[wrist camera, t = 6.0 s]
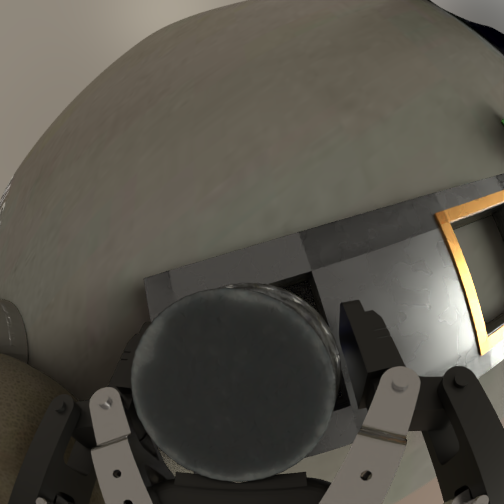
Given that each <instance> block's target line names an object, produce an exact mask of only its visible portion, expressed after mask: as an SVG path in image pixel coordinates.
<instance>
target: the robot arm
mask: <svg viewBox="0 0 504 504" xmlns="http://www.w3.org/2000/svg"><path fill="white" fill-rule="evenodd" d="M150 324H151V322H145V323H144V324H143V326H142V329H141V331H140V333H139V334H135V335H134V337H133V338H132V339H131V340H130V341H129V342H128V343H127V345H126V348H125V350H124V353H123V354H122V356H121V358H120V359H121V360H120V361H119V363H118V365H117V367H116V369H115V372H114V374H113V376H112V378H111V381H110V383H109V385H108V387H105V388H101V389H99V390H98V391H96V392H95V393H94V394H93V396H92V397H91V399H90V400H86V401H79V402H75V401H74V400H73V398H72V397H71V396H69V395H67V394H61V395H58V396H57V397H55V398H54V399H53V400H52V401H51V403H50V405H49V407H48V409H47V411H46V413H45V415H44V417H43V419H42V421H41V423H40V425H39V427H38V429H37V431H36V433H35V435H34V438H33V440H32V442H31V444H30V446H29V449H28V451H27V453H26V456H25V458H24V461H23V463H22V466H21V468H20V471H19V473H18V476H17V478H16V481H15V484H14V487H13V490H12V493H11V495H10V499H9V502H8V504H89V502H90V498H91V495H92V491H93V488H94V485H95V481H96V478H97V479H98V482H99V485H100V489H101V492H102V495H103V498H104V501H105V504H382V503H383V501H384V499H385V497H386V494H387V492H388V490H389V488H390V486H391V483H392V481H393V479H394V476H395V474H396V472H397V469H398V467H399V464H400V461H401V459H402V456H403V453H404V450H405V447H406V444H407V440H406V436H407V432H408V431H422V434H423V437H424V440H425V443H426V445H427V448H428V451H429V454H430V457H431V460H432V463H433V466H434V469H435V472H436V476H437V479H438V482H439V486H440V489H441V493H442V496H443V500H444V503H443V504H504V428H503V426H502V424H501V422H500V420H499V418H498V416H497V414H496V412H495V410H494V408H493V406H492V404H491V402H490V400H489V399H488V397H487V395H486V393H485V391H484V390H483V388H482V386H481V384H480V382H479V381H478V379H477V377H476V376H475V374H474V373H473V372H472V371H471V370H470V369H468V368H467V367H464V366H454V367H452V368H450V369H448V370H447V371H446V372H445V374H444V376H443V377H423V376H419V375H417V373H416V372H415V371H413V370H412V369H410V368H407V367H406V366H405V364H404V362H403V360H402V358H401V355H400V353H399V351H398V349H397V347H396V345H395V343H394V341H393V339H392V337H391V336H390V332H389V330H388V329H387V326H386V324H385V322H384V320H383V318H382V317H381V316H380V315H378V314H377V313H376V312H375V311H374V310H370V311H365V310H364V308H363V306H362V304H361V302H360V300H353V301H347V302H341V303H340V316H339V340H340V345H341V348H342V352H343V355H344V358H345V362H346V365H347V369H348V372H349V376H350V380H351V383H352V387H353V391H354V394H355V398H356V402H357V406H358V410H359V409H363V408H367V411H368V413H367V415H366V418H365V420H364V422H363V424H362V426H361V428H360V430H359V432H358V434H357V436H356V438H355V440H354V442H353V444H352V446H351V448H350V450H349V452H348V454H347V456H346V458H345V460H344V462H343V464H342V465H341V467H340V469H339V471H338V473H337V475H336V476H335V478H334V480H333V481H332V483H330V482H328V481H324V480H321V479H316V478H307V477H306V472H299V473H290V474H277V475H273V476H270V477H267V478H264V479H259V480H253V481H246V482H241V483H235V482H229V481H222V480H217V479H212V478H209V477H206V476H201V475H200V474H191V473H181V472H176V476H175V477H174V475H173V474H172V472H171V471H170V470H169V469H168V467H167V466H166V464H165V463H164V461H163V458H162V456H161V454H160V452H159V450H158V447H157V445H156V444H155V443H154V442H153V440H152V439H151V437H150V436H149V434H148V433H147V432H146V430H145V429H144V426H143V425H142V422H141V420H140V419H139V418H138V415H137V412H136V409H135V406H134V402H133V396H132V390H131V367H132V362H133V358H134V356H135V350H136V348H137V346H138V344H139V341H140V339H141V337H142V335H143V334H144V332H145V331H146V329H147V328H148V326H149V325H150ZM0 353H2V354H5V355H8V356H11V357H14V358H16V359H18V360H20V361H22V362H24V363H26V364H27V360H28V349H27V338H26V332H25V327H24V323H23V320H22V318H21V315H20V313H19V311H18V309H17V308H16V306H15V305H14V304H13V303H11V302H10V301H7V300H3V299H0ZM71 436H72V437H73V438H74V439H75V440H76V441H75V444H74V446H73V449H72V452H71V454H70V457H69V459H68V462H67V464H65V462H64V453H65V450H66V448H67V445H68V443H69V441H70V438H71Z"/></svg>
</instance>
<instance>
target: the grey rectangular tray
mask: <svg viewBox="0 0 504 504" xmlns="http://www.w3.org/2000/svg"><path fill="white" fill-rule="evenodd" d="M491 214H492V215H493V217H494V219H495V221H496V224H497V226H498V228H499V231H500V233H501V236H502V238H503V241H504V174H500V175H496V176H493V177H489V178H486V179H482V180H478V181H475V182H471V183H468V184H464V185H461V186H457V187H454V188H450V189H446V190H443V191H439V192H436V193H432V194H429V195H425V196H422V197H418V198H415V199H411V200H408V201H404V202H401V203H397V204H394V205H390V206H387V207H383V208H380V209H376V210H373V211H370V212H366V213H363V214H359V215H356V216H352V217H349V218H345V219H342V220H339V221H335V222H332V223H328V224H325V225H321V226H318V227H315V228H311V229H308V230H304V231H301V232H297V233H294V234H291V235H287V236H284V237H280V238H277V239H274V240H270V241H267V242H264V243H260V244H257V245H253V246H250V247H247V248H243V249H240V250H237V251H233V252H230V253H226V254H223V255H220V256H216V257H213V258H210V259H206V260H203V261H200V262H196V263H193V264H190V265H186V266H183V267H180V268H176V269H173V270H170V271H166V272H163V273H160V274H157V275H153V276H150V277H147V278H144V284H145V291H146V297H147V303H148V309H149V314H150V320H151V322H152V321H153V320H154V318H156V317H157V316H158V314H159V313H161V312H162V311H163V310H164V309H165V308H167V307H168V306H170V305H171V304H172V303H174V302H176V301H178V300H179V299H181V298H183V297H185V296H187V295H191V294H194V293H196V292H199V291H204V290H209V289H216V288H219V287H223V286H226V285H230V284H238V283H259V284H260V283H261V284H268V285H272V286H275V287H279V288H285V287H289V286H292V285H295V284H299V283H302V282H305V281H309V284H310V288H311V291H312V294H313V297H314V300H315V304H316V307H317V310H318V313H319V314H320V315H321V316H322V318H323V319H324V320H325V322H326V324H327V325H328V327H329V328H330V331H331V332H332V334H333V335H334V338H335V340H336V345H337V347H338V350H339V353H340V360H341V383H340V390H341V394H342V397H339V398H337V399H336V402H335V406H334V410H333V415H332V418H331V420H330V423H329V425H328V428H327V430H326V431H325V433H324V435H323V437H322V438H321V440H320V441H319V442H318V444H317V445H316V446H315V447H314V448H313V450H312V451H311V452H310V453H308V454H307V455H306V456H305V457H304V458H306V457H310V456H313V455H317V454H320V453H324V452H327V451H330V450H334V449H337V448H340V447H343V446H346V445H349V444H351V443H353V442H354V440H355V438H356V436H357V434H358V432H359V430H360V428H361V426H362V424H363V422H364V420H365V418H366V415H367V413H368V411H367V408H363V409H359V410H358V406H357V402H356V398H355V394H354V391H353V387H352V383H351V380H350V376H349V372H348V369H347V365H346V362H345V358H344V355H343V352H342V348H341V345H340V340H339V316H340V303H341V302H347V301H353V300H360V302H361V304H362V306H363V308H364V310H365V311H370V310H374V311H375V312H376V313H377V314H378V315H380V316H381V317H382V318H383V320H384V322H385V324H386V326H387V329H388V330H389V332H390V336H391V337H392V339H393V341H394V343H395V345H396V347H397V349H398V351H399V353H400V355H401V358H402V360H403V362H404V364H405V366H406V367H407V368H410V369H412V370H413V371H415V372H416V373H417V375H419V376H423V377H443V376H444V374H445V372H446V371H447V370H448V369H450V368H452V367H454V366H464V367H467V368H468V369H470V370H471V371H472V372H473V373H474V374H475V376H476V377H477V379H478V378H479V377H480V376H482V375H483V374H485V373H486V372H487V371H489V370H490V369H491V368H493V367H494V366H495V365H497V364H498V363H499V362H500V361H502V360H503V359H504V312H503V313H502V314H501V315H499V316H498V317H496V318H495V319H494V320H492V321H491V322H489V323H488V324H486V325H485V324H484V320H483V316H482V312H481V308H480V305H479V301H478V298H477V294H476V291H475V288H474V285H473V282H472V278H471V275H470V273H469V270H468V267H467V264H466V261H465V259H464V256H463V253H462V251H461V248H460V246H459V243H458V241H457V238H456V236H455V234H454V231H453V230H455V229H457V228H460V227H462V226H465V225H467V224H470V223H472V222H475V221H477V220H479V219H482V218H484V217H487V216H489V215H491ZM193 472H194V471H193ZM194 474H198V473H196V472H194Z"/></svg>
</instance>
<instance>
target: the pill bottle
mask: <svg viewBox="0 0 504 504" xmlns="http://www.w3.org/2000/svg"><path fill="white" fill-rule="evenodd" d="M340 383H341V360H340V353H339V350H338V347H337V345H336V340H335V338H334V335H333V334H332V332H331V331H330V328H329V327H328V325H327V324H326V322H325V320H324V319H323V318H322V316H321V315H320V314H319V313H318V312H317V311H316V310H315V309H314V308H313V307H312V306H310V305H309V304H308V303H307V302H306V301H304V300H303V299H302V298H300V297H298V296H297V295H295V294H293V293H291V292H289V291H287V290H285V289H282V288H279V287H275V286H272V285H268V284H261V283H260V284H259V283H238V284H230V285H226V286H223V287H219V288H216V289H209V290H204V291H199V292H196V293H194V294H191V295H187V296H185V297H183V298H181V299H179V300H178V301H176V302H174V303H172V304H171V305H170V306H168V307H167V308H165V309H164V310H163V311H162V312H161V313H159V314H158V316H157V317H156V318H154V320H153V321H152V322H151V324H150V325H149V326H148V328H147V329H146V331H145V332H144V334H143V335H142V337H141V339H140V341H139V344H138V346H137V348H136V350H135V356H134V358H133V362H132V367H131V390H132V396H133V402H134V406H135V409H136V412H137V415H138V418H139V419H140V420H141V422H142V425H143V426H144V429H145V430H146V432H147V433H148V434H149V436H150V437H151V439H152V440H153V442H154V443H155V444H156V445H157V446H158V448H159V449H161V450H162V451H163V452H164V453H165V454H166V455H167V456H168V457H169V458H171V459H172V460H174V461H175V462H176V463H177V464H179V465H181V466H183V467H184V468H186V469H187V470H192V471H194V472H196V473H198V474H200V475H201V476H206V477H209V478H212V479H217V480H222V481H229V482H233V481H236V482H243V481H253V480H259V479H264V478H267V477H270V476H273V475H275V474H278V473H281V472H283V471H285V470H287V469H288V468H290V467H292V466H294V465H295V464H297V463H298V462H299V461H301V460H302V459H303V458H304V457H305V456H306V455H307V454H308V453H310V452H311V451H312V450H313V448H314V447H315V446H316V445H317V444H318V442H319V441H320V440H321V438H322V437H323V435H324V433H325V431H326V430H327V428H328V425H329V423H330V420H331V418H332V415H333V410H334V406H335V402H336V399H337V397H338V393H339V389H340Z"/></svg>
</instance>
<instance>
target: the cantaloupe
mask: <svg viewBox="0 0 504 504" xmlns="http://www.w3.org/2000/svg"><path fill="white" fill-rule="evenodd" d="M61 394H67V395H69V396H71V397H72V398H73V400H74V401H75V402H79V401H78V400H77V399H76V398H75V397H74V396H73V395H72V394H71V393H70V392H68V391H67V390H66V389H65V388H63V387H62V386H61V385H60V384H58V383H57V382H56V381H54V380H53V379H51V378H50V377H48V376H47V375H45V374H44V373H42V372H40V371H39V370H37V369H35V368H33V367H31V366H30V365H28V364H26V363H24V362H22V361H20V360H18V359H16V358H14V357H11V356H8V355H5V354H2V353H0V504H8V502H9V499H10V495H11V493H12V490H13V487H14V484H15V481H16V478H17V476H18V473H19V471H20V468H21V466H22V463H23V461H24V458H25V456H26V453H27V451H28V449H29V446H30V444H31V442H32V440H33V438H34V435H35V433H36V431H37V429H38V427H39V425H40V423H41V421H42V419H43V417H44V415H45V413H46V411H47V409H48V407H49V405H50V403H51V401H52V400H53V399H54V398H55V397H57V396H58V395H61ZM75 441H76V440H75V439H74V438H73V437H72V436H71V438H70V441H69V443H68V445H67V448H66V450H65V453H64V462H65V464H67V462H68V459H69V457H70V454H71V452H72V449H73V446H74V444H75ZM89 504H105V501H104V498H103V495H102V492H101V489H100V485H99V482H98V479H97V478H96V481H95V485H94V488H93V491H92V495H91V498H90V502H89Z"/></svg>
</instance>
